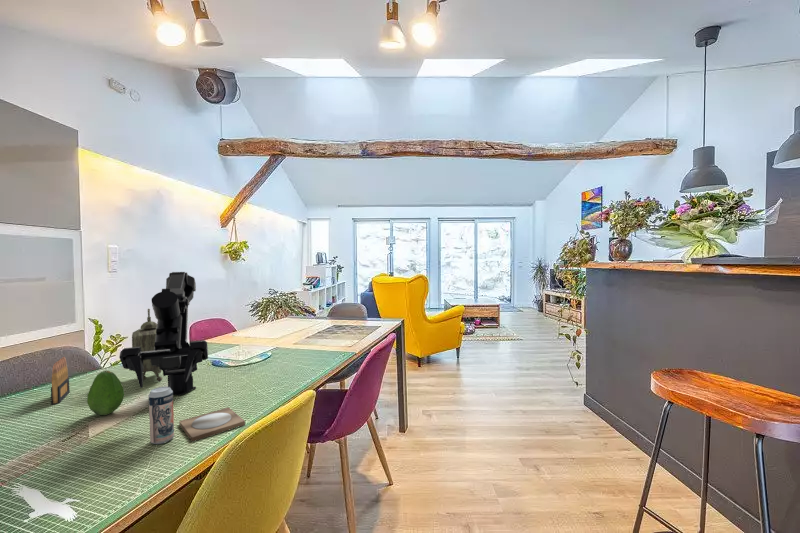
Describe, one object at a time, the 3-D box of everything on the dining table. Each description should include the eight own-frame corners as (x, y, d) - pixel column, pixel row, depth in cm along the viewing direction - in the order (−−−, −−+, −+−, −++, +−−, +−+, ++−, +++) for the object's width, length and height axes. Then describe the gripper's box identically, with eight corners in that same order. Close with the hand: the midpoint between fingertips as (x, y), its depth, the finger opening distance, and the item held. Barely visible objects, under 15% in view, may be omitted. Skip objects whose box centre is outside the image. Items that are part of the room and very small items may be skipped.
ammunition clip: (59, 403, 109) (57, 363, 109) (51, 404, 108) (49, 364, 108) (69, 392, 118) (68, 355, 118) (62, 393, 117) (60, 356, 117)
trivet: (179, 424, 93) (179, 420, 93) (228, 410, 102) (228, 406, 102) (192, 441, 85) (192, 436, 85) (245, 424, 93) (244, 420, 93)
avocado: (100, 421, 96) (98, 376, 96) (81, 417, 99) (79, 373, 98) (131, 409, 103) (130, 367, 103) (113, 406, 106) (111, 365, 106)
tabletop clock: (165, 381, 127) (163, 309, 126) (133, 387, 122) (130, 312, 121) (164, 371, 139) (162, 305, 138) (134, 376, 134) (132, 307, 133)
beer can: (156, 447, 82) (154, 394, 82) (146, 442, 85) (144, 390, 84) (178, 438, 86) (176, 387, 86) (168, 433, 89) (166, 384, 88)
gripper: (209, 344, 108) (208, 393, 98) (132, 352, 100) (123, 406, 90) (207, 321, 101) (206, 372, 91) (124, 327, 93) (113, 384, 83)
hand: (163, 384), depth 89 cm, fingers open, 9 cm apart
